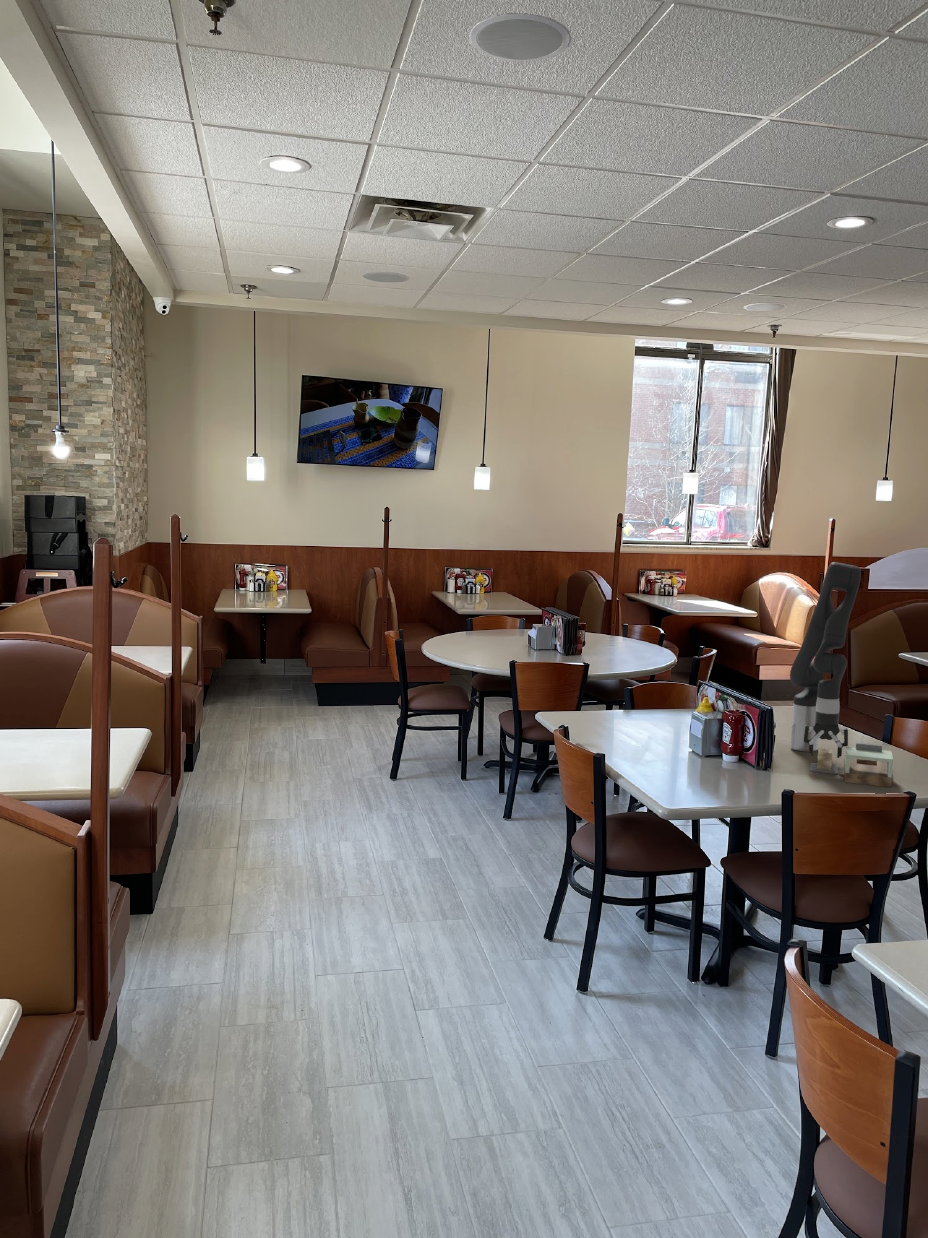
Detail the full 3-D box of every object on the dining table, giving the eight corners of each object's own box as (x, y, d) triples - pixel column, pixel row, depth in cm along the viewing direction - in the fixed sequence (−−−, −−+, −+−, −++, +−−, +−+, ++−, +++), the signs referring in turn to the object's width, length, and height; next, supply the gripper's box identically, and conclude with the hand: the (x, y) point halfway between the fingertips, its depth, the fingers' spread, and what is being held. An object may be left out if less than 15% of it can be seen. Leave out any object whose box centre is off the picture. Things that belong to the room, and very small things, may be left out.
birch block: (817, 768, 312) (818, 751, 311) (817, 765, 316) (818, 748, 315) (831, 770, 310) (832, 753, 309) (831, 766, 314) (832, 750, 314)
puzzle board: (844, 782, 299) (845, 773, 298) (844, 762, 322) (844, 754, 321) (891, 787, 293) (891, 778, 293) (887, 767, 316) (887, 758, 316)
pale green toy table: (845, 772, 298) (846, 748, 297) (845, 764, 308) (846, 740, 307) (891, 777, 292) (893, 753, 292) (890, 768, 303) (891, 745, 302)
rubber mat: (809, 771, 311) (810, 769, 311) (810, 764, 319) (810, 762, 319) (838, 774, 307) (838, 772, 307) (838, 767, 316) (838, 765, 316)
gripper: (849, 710, 311) (847, 755, 313) (805, 706, 317) (803, 751, 319) (850, 714, 304) (847, 761, 306) (805, 710, 310) (802, 756, 312)
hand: (824, 756), depth 313 cm, fingers open, 8 cm apart
